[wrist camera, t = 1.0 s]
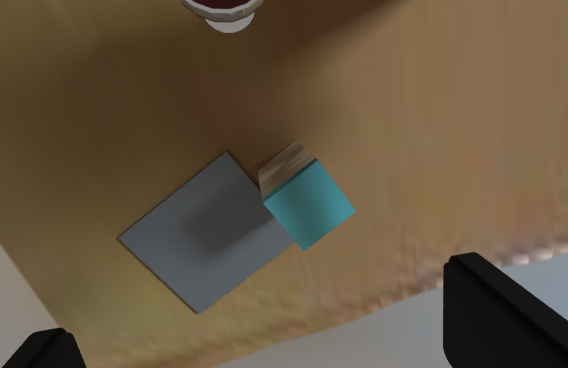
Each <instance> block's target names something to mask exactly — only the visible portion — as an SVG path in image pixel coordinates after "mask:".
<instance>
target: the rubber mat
mask: <svg viewBox="0 0 568 368" xmlns="http://www.w3.org/2000/svg"><path fill="white" fill-rule="evenodd" d="M118 239H119V240H120V241H121V242H122V243H123V244H124V245H126V246H127V247H128V248H129V249H130V250H131V251H132V252H133V253H134V254H135V255H136V256H137V257H138V258H139V259H140V260H142V261H143V262H144V263H145V264H146V265H147V266H148V267H149V268H150V269H151V270H152V271H153V272H154V273H155V274H156V275H158V276H159V277H160V278H161V279H162V280H163V281H164V282H165V283H166V284H167V285H168V286H169V287H170V288H171V289H172V290H174V291H175V292H176V293H177V294H178V295H179V296H180V297H181V298H182V299H183V300H184V301H185V302H186V303H187V304H188V305H190V306H191V307H192V308H193V309H194V310H195V311H196V312H197V313H198V314H200V313H202V312H203V311H204V310H206V309H207V308H208V307H210V306H211V305H212V304H214V303H215V302H216V301H217V300H219V299H220V298H221V297H223V296H224V295H225V294H227V293H228V292H229V291H231V290H232V289H233V288H235V287H236V286H237V285H239V284H240V283H241V282H243V281H244V280H245V279H247V278H248V277H249V276H250V275H252V274H253V273H254V272H256V271H257V270H258V269H260V268H261V267H262V266H264V265H265V264H266V263H268V262H269V261H270V260H272V259H273V258H274V257H276V256H277V255H278V254H280V253H281V252H282V251H284V250H285V249H286V248H287V247H289V246H290V245H291V244H293V243H294V242H295V240H294V239H293V238H292V237H291V236H290V234H289V233H288V232H287V231H286V230H285V228H284V227H283V226H282V225H281V224H280V223H279V221H278V220H277V219H276V218H275V217H274V216H273V214H272V213H271V212H270V211H269V210H268V209H267V207H266V206H265V205H264V204H263V200H262V195H261V191H260V189H259V188H258V187H257V186H256V185H255V184H254V182H253V181H252V180H251V179H250V178H249V176H248V175H247V174H246V173H245V172H244V170H243V169H242V168H241V167H240V166H239V165H238V163H237V162H236V161H235V160H234V159H233V157H232V156H231V155H230V154H229V153H228V152H227V151H226V152H225V153H223V154H222V155H221V156H219V157H218V158H217V159H216V160H214V161H213V162H212V163H211V164H209V165H208V166H207V167H206V168H204V169H203V170H202V171H201V172H199V173H198V174H197V175H196V176H194V177H193V178H192V179H191V180H189V181H188V182H187V183H186V184H184V185H183V186H182V187H181V188H179V189H178V190H177V191H176V192H174V193H173V194H172V195H171V196H169V197H168V198H167V199H166V200H164V201H163V202H162V203H161V204H159V205H158V206H157V207H156V208H154V209H153V210H152V211H150V212H149V213H148V214H147V215H145V216H144V217H143V218H142V219H140V220H139V221H138V222H137V223H135V224H134V225H133V226H132V227H130V228H129V229H128V230H127V231H125V232H124V233H123V234H122V235H120V236H119V237H118Z"/></svg>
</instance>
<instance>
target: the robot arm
mask: <svg viewBox="0 0 568 368" xmlns="http://www.w3.org/2000/svg"><path fill="white" fill-rule="evenodd" d="M443 349H444V353H445V356H446V358H447V360H448V361H449V363H450V365H451V366H452V367H453V368H568V321H567V320H566V319H564V318H563V317H562V316H561V315H559V314H558V313H556V312H555V311H554V310H553V309H551V308H550V307H548V306H547V305H546V304H545V303H543V302H542V301H540V300H539V299H538V298H536V297H535V296H534V295H532V294H531V293H530V292H528V291H527V290H526V289H525V288H523V287H522V286H521V285H519V284H518V283H516V282H515V281H514V280H512V279H511V278H510V277H509V276H507V275H506V274H505V273H503V272H502V271H501V270H499V269H498V268H497V267H495V266H494V265H493V264H491V263H490V262H488V261H487V260H486V259H484V258H483V257H482V256H480V255H479V254H477V253H476V252H471V253H465V254H460V255H454V256H451V257H450V259H449V263H445V265H444V273H443ZM2 368H87V367H86V365H85V363H84V360H83V358H82V355H81V353H80V350H79V348H78V346H77V343H76V341H75V338H74V336H73V335H72V334H71V333H67V332H66V330H64V329H63V328H55V329H49V330H44V331H38V332H35V333H32V334H31V335H30V336H29V337H28V338H27V339H26V340H25V342H24V343H23V344H22V345H21V346H20V347H19V349H18V350H17V351H16V352H15V353H14V354H13V355H12V357H11V358H10V359H9V360H8V361H7V362H6V363H5V365H4V366H3V367H2Z"/></svg>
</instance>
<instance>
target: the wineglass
mask: <svg viewBox="0 0 568 368" xmlns="http://www.w3.org/2000/svg"><path fill="white" fill-rule="evenodd" d="M180 1H181V3H182V4H183V5H184V6H185V7H187V8H188V9H189V10H191V11H192V12H193V13H194V14H196V15H197V16H199V17H202V18H204V19H205V20H206V21H207V23H208V24H209V25H211V26H212V27H213V28H214V29H216V30H218V31H221V32H224V33H234V32H237V31H240V30H242V29H244V28H245V27H246V26H247V25H249V23H250V22H251V20H252V18H253V17H254V13H255V11H256V10H257V9H258V8H260V7H261V6H262V4H263V3H264V1H265V0H180Z"/></svg>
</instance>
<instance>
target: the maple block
mask: <svg viewBox="0 0 568 368" xmlns="http://www.w3.org/2000/svg"><path fill="white" fill-rule="evenodd" d="M257 173H258V179H259V184H260V189H261V195H262V200H263V204H264V205H265V206H266V207H267V209H268V210H269V211H270V212H271V213H272V214H273V216H274V217H275V218H276V219H277V220H278V221H279V223H280V224H281V225H282V226H283V227H284V228H285V230H286V231H287V232H288V233H289V234H290V236H291V237H292V238H293V239H294V240H295V241H296V243H297V244H298V245H299V246H300V247H301V248H302V250H303V251H305V250H306V249H307V248H308V247H310V246H311V245H312V244H314V243H315V242H316V241H318V240H319V239H320V238H322V237H323V236H324V235H326V234H327V233H328V232H330V231H331V230H332V229H334V228H335V227H336V226H338V225H339V224H340V223H342V222H343V221H344V220H346V219H347V218H348V217H350V216H351V215H352V214H354V213H355V212H356V210H355V209H354V207H353V206H352V205H351V203H350V202H349V201H348V199H347V198H346V197H345V195H344V194H343V193H342V191H341V190H340V189H339V187H338V186H337V185H336V183H335V182H334V181H333V179H332V178H331V177H330V175H329V174H328V173H327V171H326V170H325V169H324V167H323V166H322V165H321V163H320V162H319V161H318V160H317V159H316V158H315V157H314V156H313V155H312V154H311V153H310V152H308V151H307V150H306V149H305V148H304V147H303V146H302V145H301V144H300V143H299V142H298V141H295V142H294V143H293V144H291V145H290V146H289V147H288V148H286V149H285V150H284V151H282V152H281V153H280V154H279V155H277V156H276V157H275V158H274V159H272V160H271V161H270V162H268V163H267V164H266V165H265V166H263V167H262V168H261V169H260V170H258V171H257Z"/></svg>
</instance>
